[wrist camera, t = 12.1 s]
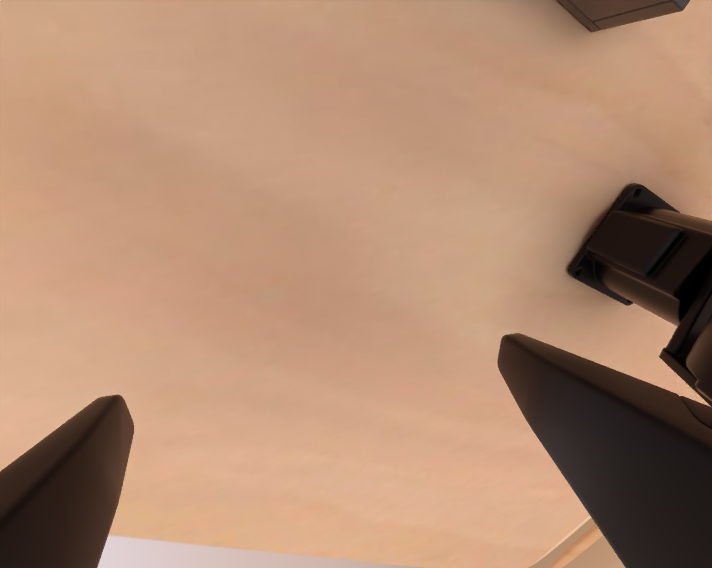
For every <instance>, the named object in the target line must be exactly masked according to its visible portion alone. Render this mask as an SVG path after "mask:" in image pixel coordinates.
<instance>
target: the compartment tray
mask: <svg viewBox="0 0 712 568" xmlns="http://www.w3.org/2000/svg"><path fill="white" fill-rule="evenodd" d="M557 1H558V2H559V3H560V4H562V5H563V6H564V7H565V8H566V9H567V10H568V11H569V12H570V13H572V14H573V15H574V16H575V17H576V18H577V19H578V20H579V21H580V22H581V23H583V24H584V25H585V26H586V27H587V28H588V29H589V30H590V31H591V32H595V31H599V30H601V29H602V30H603V29H607V28H612V27H616V26H620V25H624V24H629V23H633V22H637V21H641V20H646V19H650V18H654V17H658V16H662V15H667V14H671V13H675V12H679V11H682V10H684V9H685V7H686V6H687V4H688V3H689V1H690V0H557Z"/></svg>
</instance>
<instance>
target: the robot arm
mask: <svg viewBox="0 0 712 568" xmlns="http://www.w3.org/2000/svg"><path fill="white" fill-rule="evenodd" d="M634 191H635V192H634ZM633 193H634V194H633ZM577 269H578V270H577ZM576 270H577V271H576ZM568 274H569V275H570V276H571V277H573V278H575V279H577V280H579V281H581V282H583V283H584V284H586V285H588V286H590V287H592V288H594V289H596V290H598V291H600V292H602V293H604V294H606V295H608V296H609V297H611V298H613V299H615V300H617V301H619V302H621V303H623V304H625V305H631V304H633V303H635V304H637V305H639V306H641V307H643V308H644V309H646V310H648V311H650V312H652V313H654V314H656V315H657V316H659V317H661V318H663V319H665V320H667V321H669V322H670V323H672V324H674V325H676V326H678V327H677V329H676V331H675V332H674V334H673V336H672V338H671V340H670V342H669V343H668V345H667V347H666V348H663V350H662V352H661V354H660V356H659V357H660V358H661V359H662V360H663V361H664V362H665V363H666V364H667V365H668V366H669V367H670V368H671V369H672V370H673V371H674V372H675V373H677V374H678V375H679V376H680V377H681V378H682V379H683V380H684V381H685V382H686V383H687V384H688V385H689V386H690V387H691V388H692V389H693V390H694V391H696V392H697V393H698V394H699V395H700V396H701V397H702V398H703V399H704V400H705V401H706V402H707V403H708V404H709V405H710V406H711V407H710V406H707V405H704V404H702V403H699V402H697V401H694V400H691V399H689V398H686V397H684V396H680V397H679V395H678V394H676V393H673V392H670V391H668V390H665V389H663V388H660V387H658V386H655V385H652V384H650V383H647V382H645V381H642V380H639V379H637V378H634V377H632V376H629V375H626V374H624V373H621V372H619V371H616V370H613V369H611V368H608V367H606V366H603V365H601V364H598V363H595V362H593V361H590V360H588V359H585V358H582V357H580V356H577V355H575V354H572V353H569V352H567V351H564V350H562V349H559V348H556V347H554V346H551V345H549V344H546V343H544V342H541V341H538V340H536V339H533V338H531V337H528V336H525V335H523V334H520V333H515V334H508V335H505V336H503V337H502V339H501V344H500V350H499V356H498V368H499V371H500V373H501V374H502V376H503V378H504V380H505V382H506V384H507V386H508V387H509V389H510V391H511V393H512V395H513V397H514V399H515V400H516V402H517V404H518V406H519V408H520V410H521V412H522V413H523V415H524V417H525V419H526V420H527V422H528V424H529V425H530V427H531V428H532V430H533V431H534V433H535V434H536V436H537V437H538V439H539V440H540V442H541V443H542V445H543V446H544V448H545V449H546V451H547V452H548V453H549V455H550V456H551V458H552V459H553V461H554V462H555V464H556V465H557V467H558V468H559V470H560V471H561V473H562V474H563V476H564V477H565V479H566V480H567V482H568V483H569V485H570V486H571V488H572V489H573V490H574V492H575V493H576V495H577V496H578V498H579V499H580V501H581V502H582V504H583V505H584V507H585V508H586V510H587V511H588V513H589V514H590V516H591V517H592V519H593V520H594V522H595V523H596V525H597V526H598V527H599V529H600V530H601V532H602V533H603V535H604V536H605V538H606V539H607V541H608V542H609V544H610V545H611V546H612V548H613V550H614V551H615V553H616V554H617V556H618V557H619V559H620V560H621V561H622V563H623V564H624V566H625V567H626V568H712V221H709V220H705V219H701V218H697V217H693V216H689V215H685V214H682V213H680V212H679V211H677V210H676V209H674V208H673V207H672V206H670V205H669V204H668V203H666V202H665V201H663V200H662V199H661V198H659V197H658V196H657V195H655V194H654V193H652V192H651V191H650V190H648V189H647V188H646V187H644V186H643V185H640V184H635V183H634V184H631V185H629V186H628V187H627V188H626V189H625V191H624V192H623V194H622V195H621V196H620V198H619V199H618V200H617V202H616V203H615V205H614V206H613V207H612V209H611V210H610V211H609V213H608V214H607V216H606V217H605V218H604V220H603V221H602V222H601V224H600V225H599V227H598V228H597V229H596V231H595V232H594V233H593V235H592V236H591V238H590V239H589V240H588V242H587V243H586V244H585V246H584V247H583V248H582V250H581V251H580V253H579V254H578V255H577V257H576V258H575V259H574V261H573V262H572V264H571V265H570V266H569V268H568ZM133 434H134V423H133V420H132V418H131V415H130V413H129V410H128V408H127V405H126V403H125V400H124V399H123V397H122V396H120V395H112V396H105V397H100V398H98V399H96V400H95V401H93V402H92V403H91V404H89V405H88V406H87V407H85V408H84V409H83V410H81V411H80V412H79V413H77V414H76V415H75V416H74V417H72V418H71V419H70V420H68V421H67V422H66V423H64V424H63V425H62V426H60V427H59V428H58V429H56V430H55V431H54V432H52V433H51V434H50V435H48V436H47V437H46V438H44V439H43V440H42V441H40V442H39V443H38V444H36V445H35V446H34V447H32V448H31V449H30V450H28V451H27V452H26V453H24V454H23V455H22V456H20V457H19V458H18V459H16V460H15V461H14V462H12V463H11V464H10V465H8V466H7V467H6V468H4V469H3V470H2V471H0V568H97V567H98V564H99V561H100V558H101V555H102V552H103V549H104V546H105V543H106V540H107V537H108V534H109V531H110V528H111V525H112V522H113V519H114V516H115V512H116V509H117V506H118V502H119V498H120V494H121V490H122V485H123V481H124V476H125V471H126V467H127V462H128V457H129V453H130V448H131V444H132V439H133Z"/></svg>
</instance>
